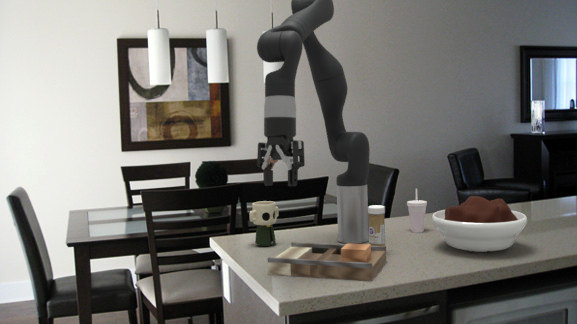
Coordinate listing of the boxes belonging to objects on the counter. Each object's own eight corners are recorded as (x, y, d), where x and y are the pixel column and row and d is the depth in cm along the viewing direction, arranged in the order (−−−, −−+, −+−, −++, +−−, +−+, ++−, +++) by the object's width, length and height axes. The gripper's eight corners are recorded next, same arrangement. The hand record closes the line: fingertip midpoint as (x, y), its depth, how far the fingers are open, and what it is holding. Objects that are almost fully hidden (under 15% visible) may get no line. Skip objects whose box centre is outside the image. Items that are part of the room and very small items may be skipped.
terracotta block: (371, 258, 142) (370, 244, 142) (365, 264, 137) (365, 250, 136) (347, 257, 144) (347, 243, 144) (341, 263, 139) (340, 248, 138)
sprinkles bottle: (365, 255, 158) (364, 206, 156) (374, 251, 161) (373, 204, 160) (380, 257, 155) (379, 207, 154) (389, 253, 158) (387, 205, 157)
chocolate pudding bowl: (414, 245, 167) (413, 193, 166) (484, 235, 176) (484, 186, 175) (471, 264, 144) (470, 205, 143) (548, 252, 153) (548, 196, 152)
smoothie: (405, 233, 184) (404, 189, 183) (409, 229, 190) (408, 186, 189) (426, 233, 182) (425, 189, 181) (429, 229, 188) (428, 187, 187)
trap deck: (386, 261, 150) (386, 246, 150) (371, 281, 133) (371, 264, 133) (292, 256, 159) (292, 242, 159) (268, 274, 143) (267, 258, 142)
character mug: (258, 250, 168) (256, 206, 167) (244, 246, 174) (242, 204, 173) (286, 243, 175) (285, 201, 174) (272, 240, 181) (270, 199, 180)
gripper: (312, 115, 132) (312, 186, 132) (272, 119, 143) (272, 185, 143) (288, 113, 127) (288, 187, 127) (248, 117, 138) (248, 185, 138)
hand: (280, 185), depth 135 cm, fingers open, 8 cm apart
